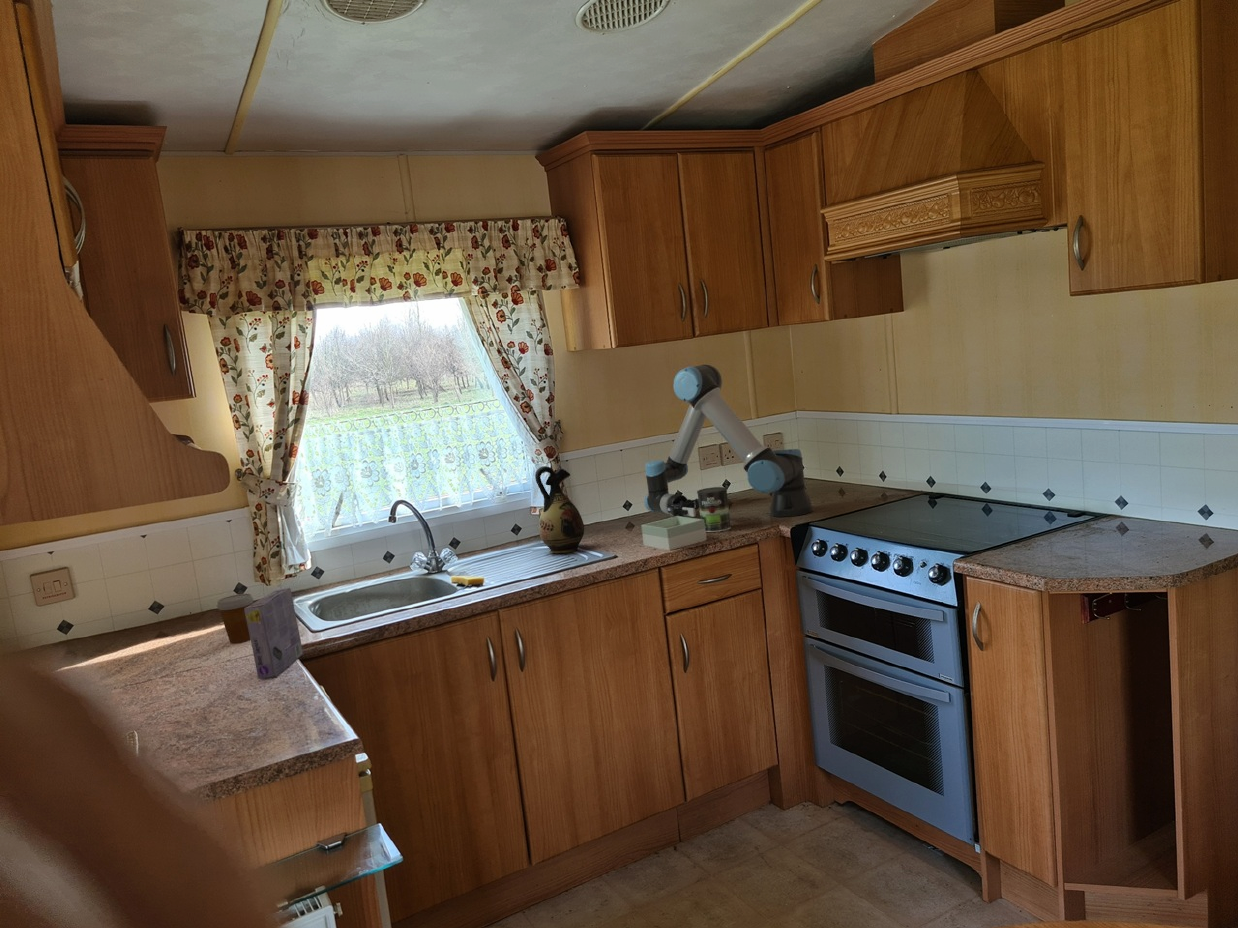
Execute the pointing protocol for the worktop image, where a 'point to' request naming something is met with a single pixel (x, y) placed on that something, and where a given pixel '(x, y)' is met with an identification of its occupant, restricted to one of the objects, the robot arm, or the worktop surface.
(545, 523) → the ceramic jug
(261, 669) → the cake pan box
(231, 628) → the disposable coffee cup
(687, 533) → the open rectangular storage box
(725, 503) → the coffee can
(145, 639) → the worktop surface
